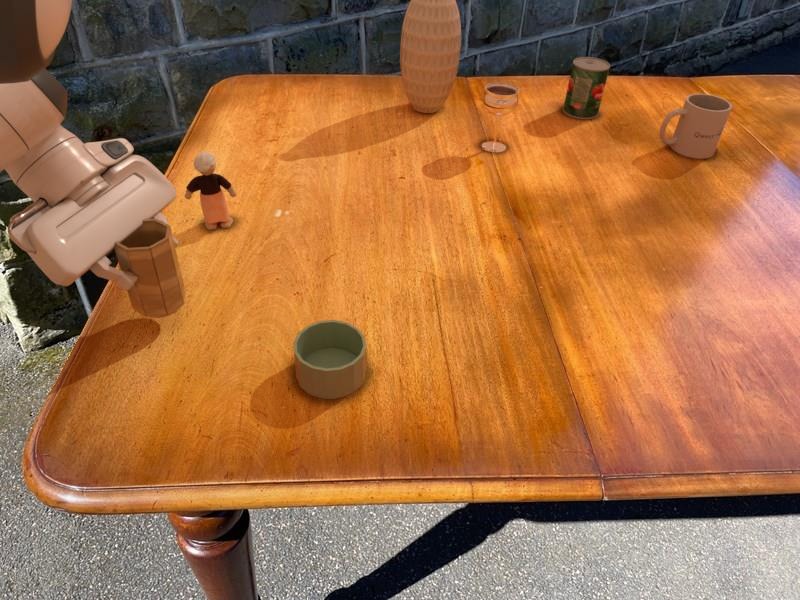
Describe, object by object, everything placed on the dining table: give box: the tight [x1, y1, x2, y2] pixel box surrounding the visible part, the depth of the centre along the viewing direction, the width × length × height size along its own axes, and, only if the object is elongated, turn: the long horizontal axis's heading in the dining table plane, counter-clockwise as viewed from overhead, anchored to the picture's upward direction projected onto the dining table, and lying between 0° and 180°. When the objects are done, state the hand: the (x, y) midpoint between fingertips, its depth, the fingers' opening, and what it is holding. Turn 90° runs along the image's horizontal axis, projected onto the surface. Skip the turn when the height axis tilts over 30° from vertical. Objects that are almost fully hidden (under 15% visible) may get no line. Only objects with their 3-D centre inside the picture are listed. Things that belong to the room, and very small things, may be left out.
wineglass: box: [481, 81, 521, 153], centre depth 125 cm, size 7×7×12 cm
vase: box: [399, 0, 462, 114], centre depth 133 cm, size 13×13×28 cm
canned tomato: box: [562, 56, 611, 120], centre depth 140 cm, size 8×8×11 cm
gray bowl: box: [292, 319, 367, 400], centre depth 77 cm, size 9×9×5 cm
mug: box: [659, 93, 733, 160], centre depth 128 cm, size 12×9×10 cm
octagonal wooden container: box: [114, 219, 186, 319], centre depth 80 cm, size 6×6×11 cm
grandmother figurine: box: [184, 151, 238, 231], centre depth 99 cm, size 8×4×13 cm, turn 115°
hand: (154, 266), depth 79 cm, fingers closed on octagonal wooden container, 7 cm apart
